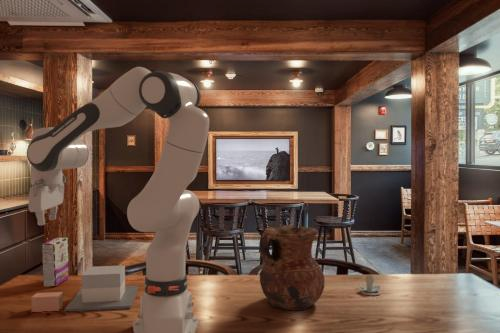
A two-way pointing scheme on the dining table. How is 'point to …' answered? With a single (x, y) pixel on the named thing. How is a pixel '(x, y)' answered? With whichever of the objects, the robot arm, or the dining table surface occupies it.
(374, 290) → the pacifier
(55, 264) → the candy bar box
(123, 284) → the white stack on tray
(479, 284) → the dining table surface
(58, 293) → the terracotta brick
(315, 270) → the jug
